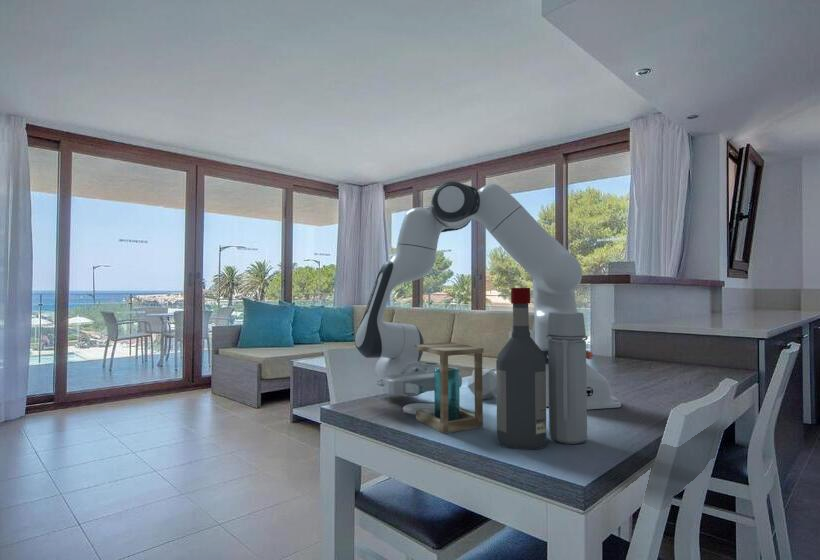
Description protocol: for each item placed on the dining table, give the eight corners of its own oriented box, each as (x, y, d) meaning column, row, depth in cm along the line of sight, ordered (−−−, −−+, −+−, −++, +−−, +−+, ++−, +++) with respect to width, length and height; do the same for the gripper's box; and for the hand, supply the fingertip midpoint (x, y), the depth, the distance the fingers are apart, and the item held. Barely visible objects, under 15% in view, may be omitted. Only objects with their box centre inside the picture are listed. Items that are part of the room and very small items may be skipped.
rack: (414, 418, 108) (414, 344, 108) (451, 413, 113) (451, 342, 113) (444, 434, 96) (443, 351, 97) (484, 427, 101) (483, 348, 101)
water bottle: (549, 431, 98) (547, 311, 98) (589, 436, 95) (588, 312, 95) (543, 445, 89) (542, 313, 90) (588, 451, 86) (586, 314, 87)
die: (496, 405, 123) (510, 373, 127) (468, 389, 123) (482, 357, 127) (486, 409, 130) (499, 378, 134) (459, 394, 130) (473, 364, 134)
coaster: (437, 405, 120) (437, 402, 120) (441, 414, 111) (441, 412, 111) (402, 405, 120) (402, 403, 120) (403, 415, 111) (403, 412, 111)
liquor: (496, 447, 88) (494, 288, 89) (500, 433, 97) (498, 288, 98) (546, 451, 86) (544, 287, 86) (545, 436, 95) (544, 287, 95)
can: (457, 418, 108) (457, 365, 108) (461, 425, 102) (461, 369, 103) (433, 419, 108) (433, 365, 108) (435, 426, 102) (435, 369, 102)
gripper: (373, 369, 116) (397, 378, 104) (444, 362, 126) (474, 370, 113) (373, 394, 116) (397, 407, 104) (444, 386, 125) (474, 396, 113)
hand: (438, 387), depth 109 cm, fingers open, 8 cm apart
